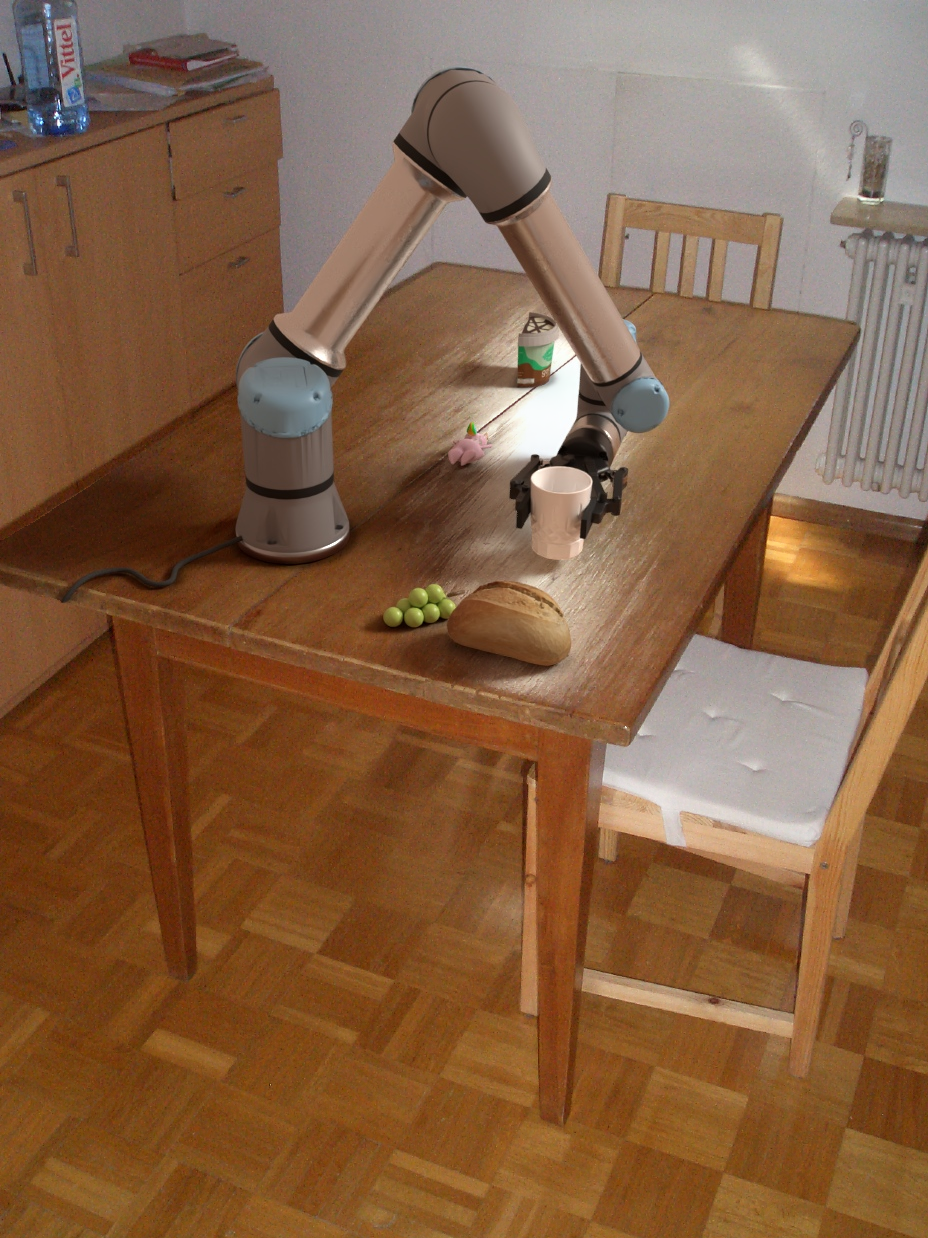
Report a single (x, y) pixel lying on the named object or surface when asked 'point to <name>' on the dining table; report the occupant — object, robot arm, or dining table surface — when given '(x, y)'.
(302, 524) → the robot arm
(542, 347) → the food container
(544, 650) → the bread roll
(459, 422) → the dining table surface
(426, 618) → the grapes
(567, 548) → the white cup
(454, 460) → the rabbit figure
